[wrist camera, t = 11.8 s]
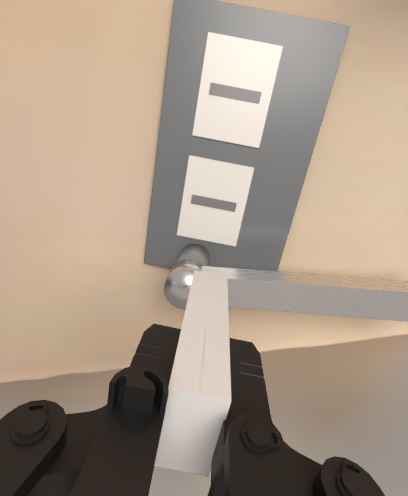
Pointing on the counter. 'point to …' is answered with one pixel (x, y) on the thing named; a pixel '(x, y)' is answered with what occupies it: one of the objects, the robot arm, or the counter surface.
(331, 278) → the swing arm
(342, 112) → the counter surface
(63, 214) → the counter surface
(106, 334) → the counter surface
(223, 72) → the label board
